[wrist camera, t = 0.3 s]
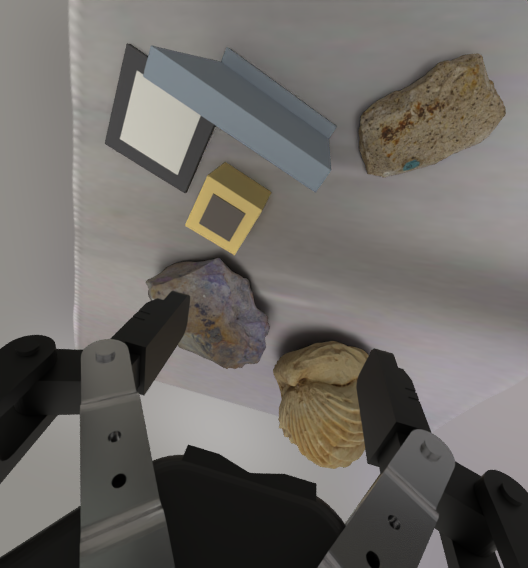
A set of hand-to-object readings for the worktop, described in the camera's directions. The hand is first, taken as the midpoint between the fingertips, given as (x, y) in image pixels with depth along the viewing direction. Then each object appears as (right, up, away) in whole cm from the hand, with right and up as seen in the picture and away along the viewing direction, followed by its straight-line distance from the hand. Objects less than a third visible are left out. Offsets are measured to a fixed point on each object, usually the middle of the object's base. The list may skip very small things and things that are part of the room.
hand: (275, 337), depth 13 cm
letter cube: (-4, +12, +22) cm, 25 cm away
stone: (-7, +1, +30) cm, 31 cm away
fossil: (+9, -10, +34) cm, 37 cm away
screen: (0, +19, +16) cm, 25 cm away
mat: (-11, +19, +19) cm, 29 cm away
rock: (+14, +17, +15) cm, 27 cm away
